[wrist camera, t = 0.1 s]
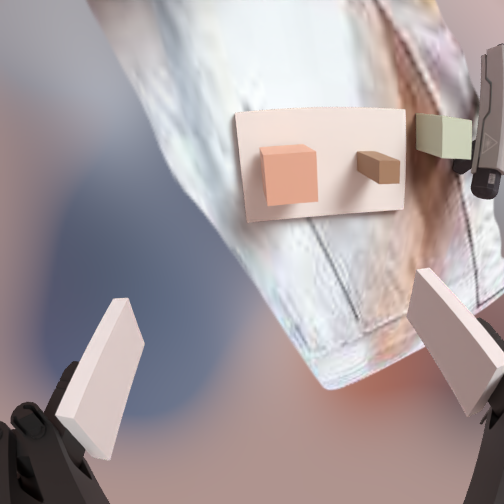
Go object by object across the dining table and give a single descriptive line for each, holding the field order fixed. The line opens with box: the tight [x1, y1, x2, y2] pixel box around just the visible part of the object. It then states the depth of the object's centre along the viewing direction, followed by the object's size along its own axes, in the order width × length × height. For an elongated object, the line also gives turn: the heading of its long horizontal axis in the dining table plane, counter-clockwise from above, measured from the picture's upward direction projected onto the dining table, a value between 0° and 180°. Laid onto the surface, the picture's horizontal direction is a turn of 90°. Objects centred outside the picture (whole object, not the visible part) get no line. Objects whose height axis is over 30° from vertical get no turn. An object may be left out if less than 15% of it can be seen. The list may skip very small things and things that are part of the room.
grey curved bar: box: [453, 43, 504, 199], centre depth 32 cm, size 2×25×10 cm, turn 164°
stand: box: [235, 107, 406, 223], centre depth 34 cm, size 14×22×9 cm, turn 96°
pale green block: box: [416, 113, 472, 159], centre depth 33 cm, size 5×5×7 cm
